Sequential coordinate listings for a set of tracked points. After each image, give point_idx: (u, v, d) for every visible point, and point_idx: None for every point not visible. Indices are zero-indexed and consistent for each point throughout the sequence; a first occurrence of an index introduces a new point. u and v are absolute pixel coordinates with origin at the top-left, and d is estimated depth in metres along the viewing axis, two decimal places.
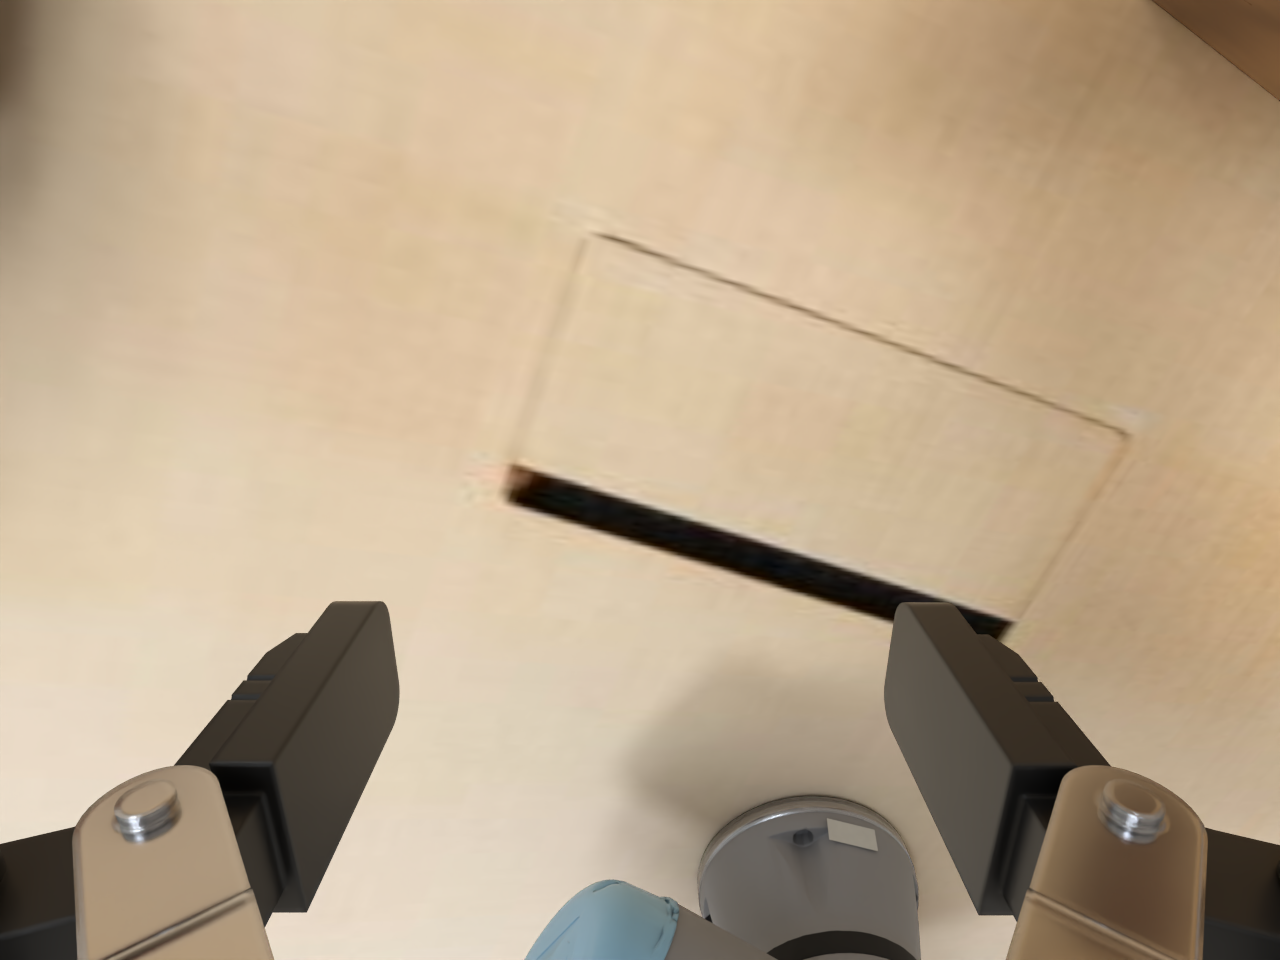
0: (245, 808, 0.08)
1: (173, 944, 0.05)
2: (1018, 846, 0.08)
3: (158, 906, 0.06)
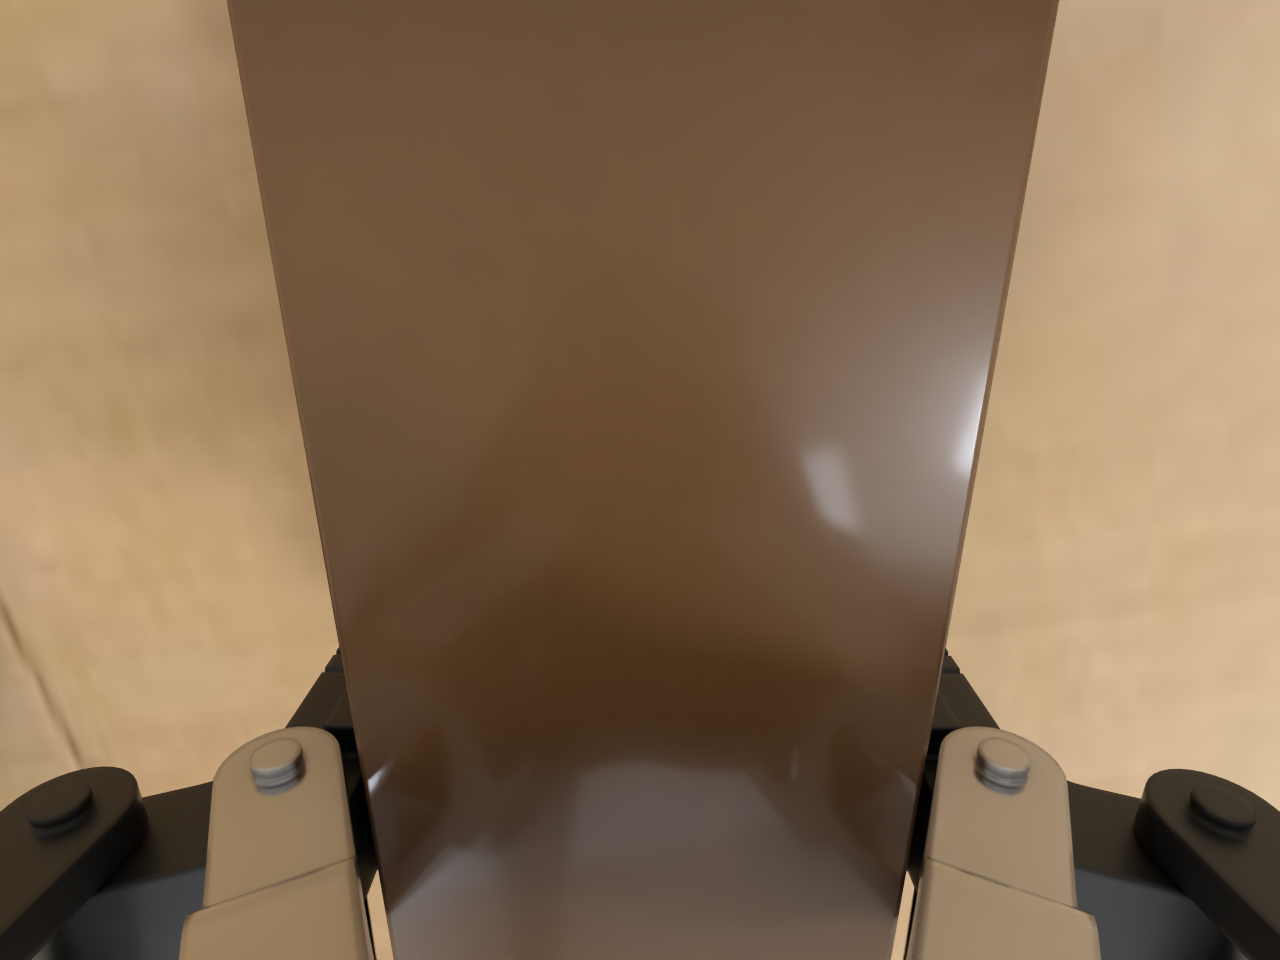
0: (358, 767, 0.08)
1: (279, 899, 0.06)
2: None
3: (276, 858, 0.07)
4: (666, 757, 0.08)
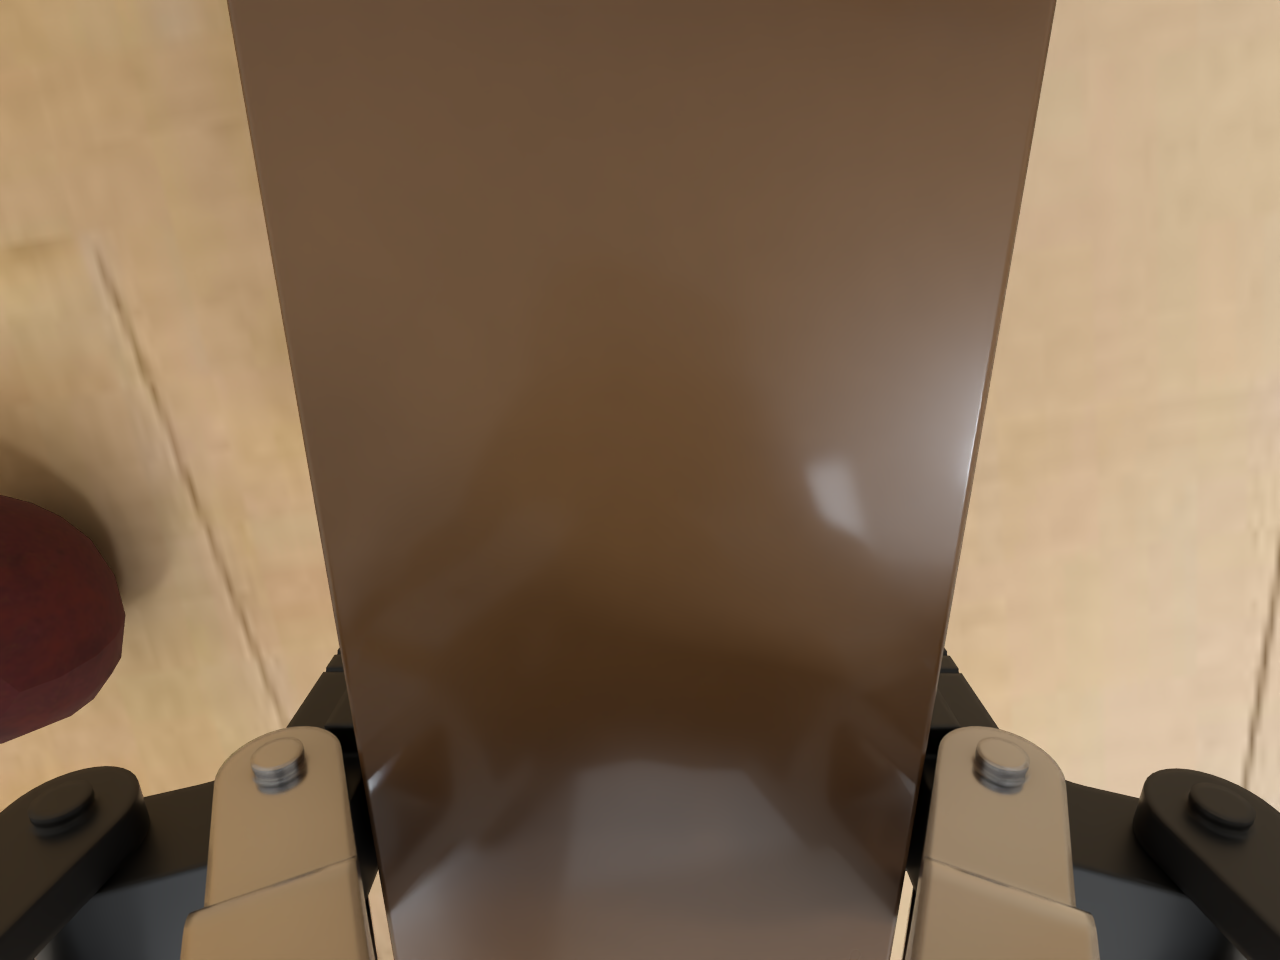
0: (359, 767, 0.08)
1: (280, 899, 0.06)
2: None
3: (276, 857, 0.07)
4: (665, 754, 0.08)
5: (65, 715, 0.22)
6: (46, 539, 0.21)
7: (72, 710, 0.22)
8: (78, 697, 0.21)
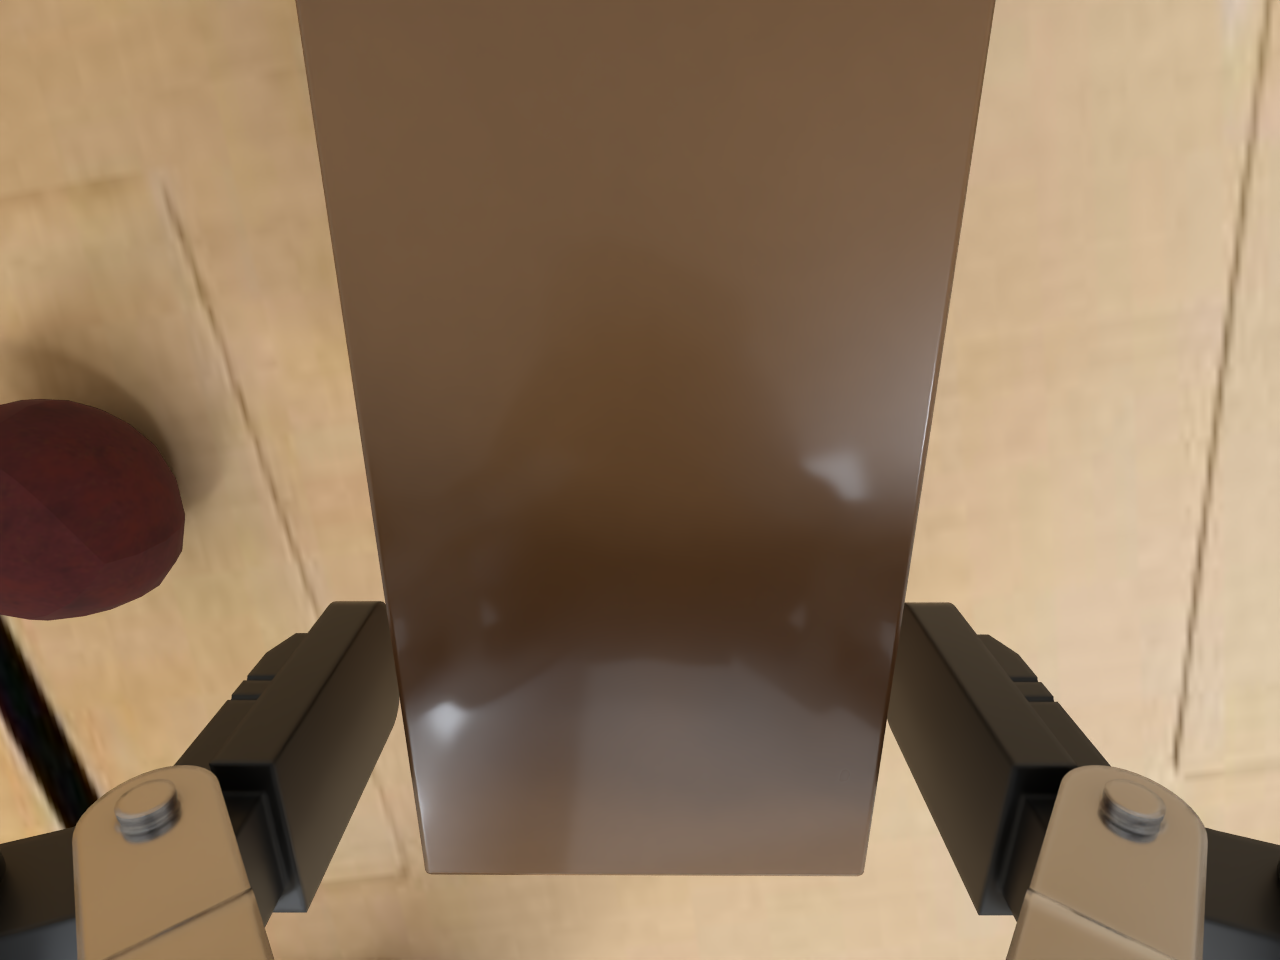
0: (245, 808, 0.08)
1: (173, 943, 0.05)
2: (1018, 847, 0.08)
3: (158, 906, 0.06)
4: (665, 564, 0.08)
5: (137, 594, 0.25)
6: (122, 437, 0.24)
7: (143, 590, 0.25)
8: (149, 577, 0.25)
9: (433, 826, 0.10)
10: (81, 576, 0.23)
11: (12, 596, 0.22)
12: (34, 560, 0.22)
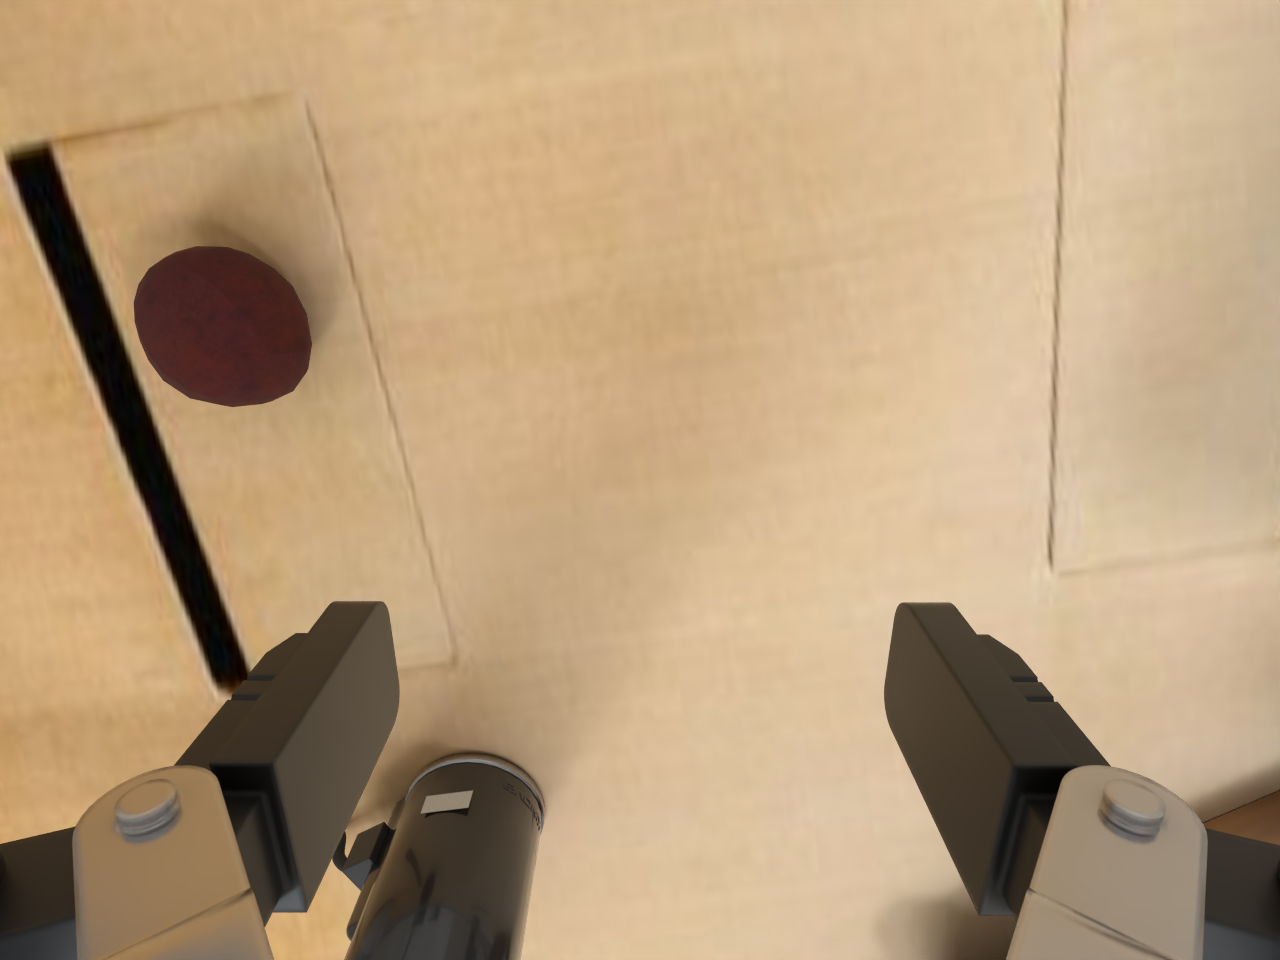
0: (245, 808, 0.08)
1: (173, 944, 0.05)
2: (1018, 846, 0.08)
3: (158, 906, 0.06)
4: None
5: (282, 390, 0.35)
6: (276, 275, 0.34)
7: (286, 388, 0.35)
8: (292, 376, 0.35)
9: None
10: (254, 362, 0.33)
11: (209, 372, 0.32)
12: (226, 345, 0.32)
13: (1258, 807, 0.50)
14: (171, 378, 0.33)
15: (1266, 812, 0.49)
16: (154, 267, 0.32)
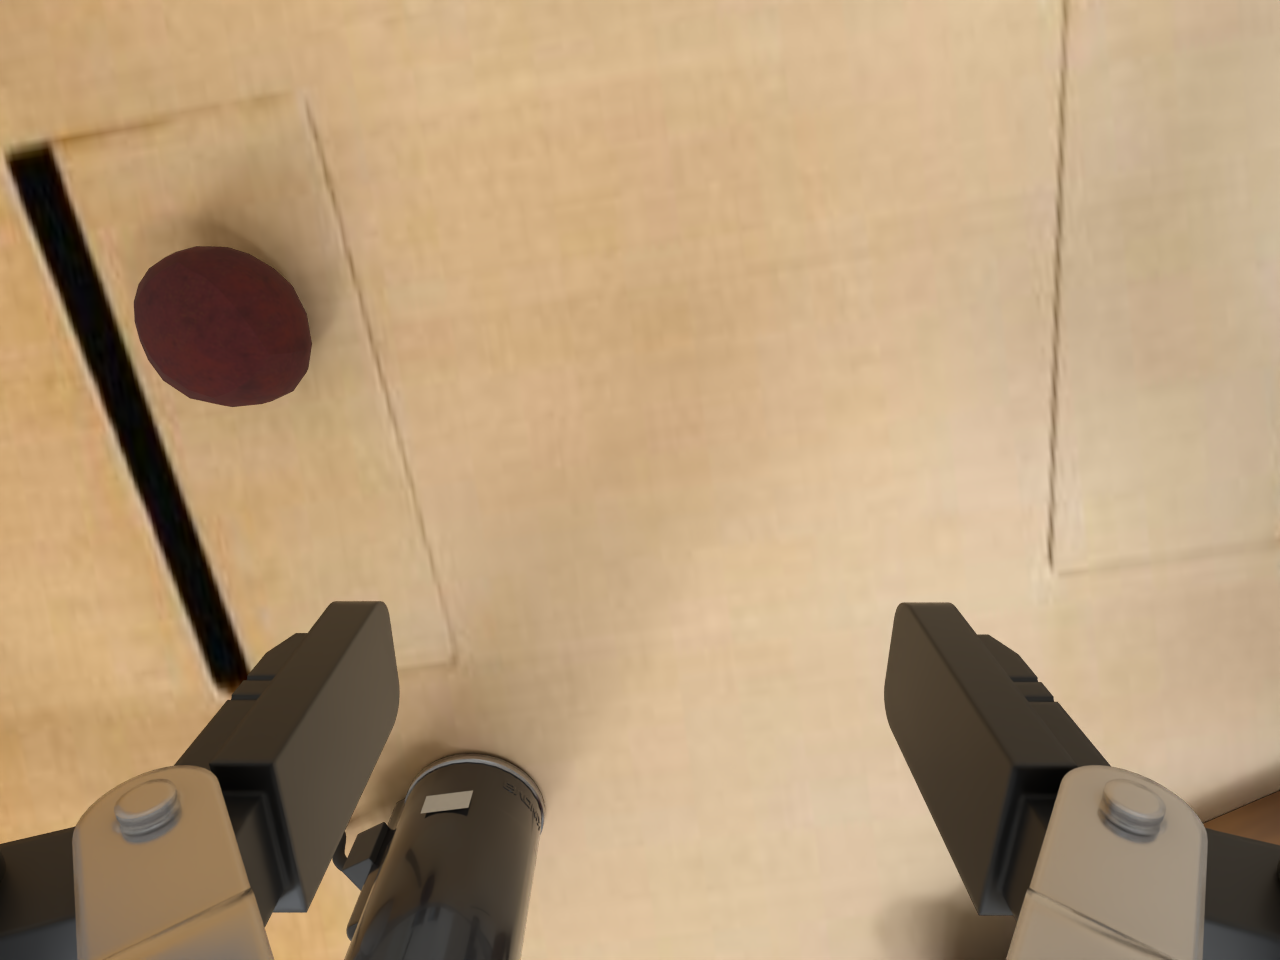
0: (245, 808, 0.08)
1: (173, 944, 0.05)
2: (1018, 846, 0.08)
3: (158, 906, 0.06)
4: None
5: (282, 390, 0.35)
6: (276, 275, 0.34)
7: (286, 388, 0.35)
8: (292, 376, 0.35)
9: None
10: (254, 362, 0.33)
11: (209, 372, 0.32)
12: (226, 345, 0.32)
13: (1258, 807, 0.50)
14: (171, 378, 0.33)
15: (1266, 812, 0.49)
16: (154, 267, 0.32)
